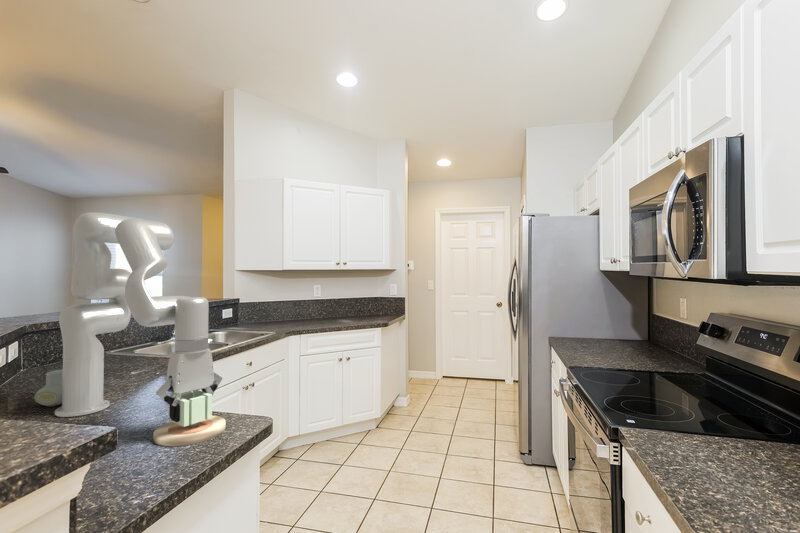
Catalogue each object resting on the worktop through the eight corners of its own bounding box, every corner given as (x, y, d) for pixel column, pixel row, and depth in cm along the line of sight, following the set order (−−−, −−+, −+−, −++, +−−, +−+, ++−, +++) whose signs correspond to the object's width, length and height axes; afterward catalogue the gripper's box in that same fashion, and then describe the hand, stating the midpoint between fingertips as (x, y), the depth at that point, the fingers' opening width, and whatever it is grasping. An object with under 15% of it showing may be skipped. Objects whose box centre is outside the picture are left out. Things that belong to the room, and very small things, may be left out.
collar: (169, 420, 96) (169, 396, 97) (197, 412, 102) (197, 390, 102) (183, 426, 93) (184, 401, 93) (211, 418, 98) (212, 394, 99)
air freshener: (28, 408, 117) (28, 374, 117) (53, 399, 125) (53, 368, 125) (64, 407, 116) (64, 374, 117) (86, 398, 125) (86, 367, 125)
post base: (141, 436, 95) (141, 405, 95) (204, 416, 108) (204, 389, 109) (173, 452, 86) (174, 418, 86) (238, 428, 100) (238, 399, 100)
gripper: (216, 339, 107) (215, 403, 107) (147, 349, 93) (146, 423, 92) (231, 342, 103) (231, 409, 103) (162, 352, 89) (161, 430, 88)
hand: (190, 415), depth 98 cm, fingers closed on collar, 7 cm apart
